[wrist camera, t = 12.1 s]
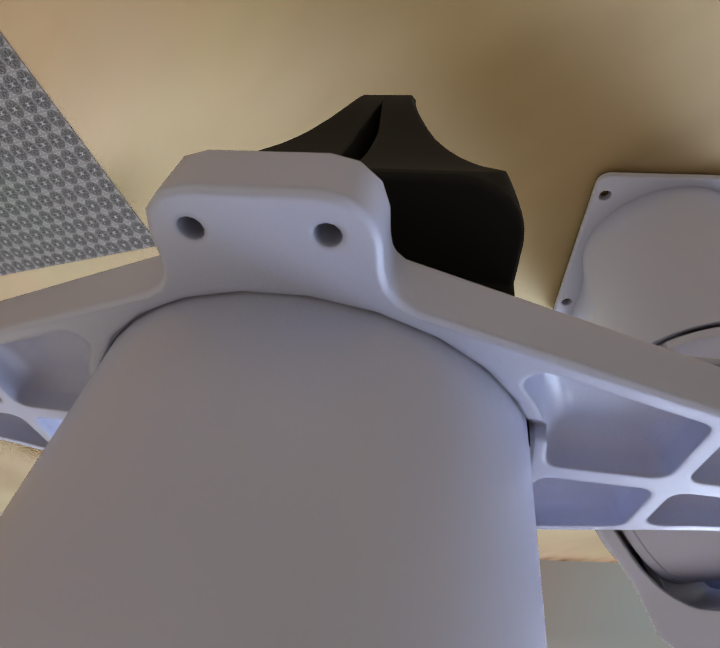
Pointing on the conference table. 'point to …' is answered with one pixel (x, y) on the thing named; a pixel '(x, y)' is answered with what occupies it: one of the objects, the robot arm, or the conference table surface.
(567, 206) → the conference table surface
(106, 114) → the conference table surface
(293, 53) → the conference table surface
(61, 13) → the conference table surface
